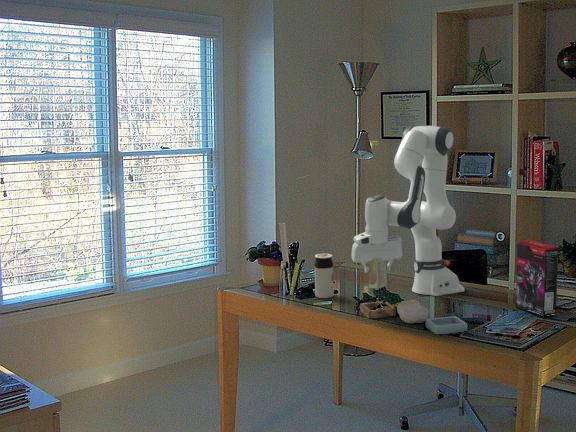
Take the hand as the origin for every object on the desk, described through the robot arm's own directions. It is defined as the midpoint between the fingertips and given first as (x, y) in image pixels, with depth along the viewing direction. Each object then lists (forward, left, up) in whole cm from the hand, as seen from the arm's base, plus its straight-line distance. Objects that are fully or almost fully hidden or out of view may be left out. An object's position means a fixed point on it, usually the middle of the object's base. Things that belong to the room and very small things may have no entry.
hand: (377, 271), depth 310 cm
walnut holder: (0, 0, -17) cm, 17 cm away
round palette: (-38, +38, -18) cm, 57 cm away
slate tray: (-17, +27, -17) cm, 36 cm away
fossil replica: (-9, +15, -17) cm, 25 cm away
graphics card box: (-58, +18, -17) cm, 64 cm away
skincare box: (0, 0, -7) cm, 7 cm away
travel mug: (+13, -31, -17) cm, 38 cm away
